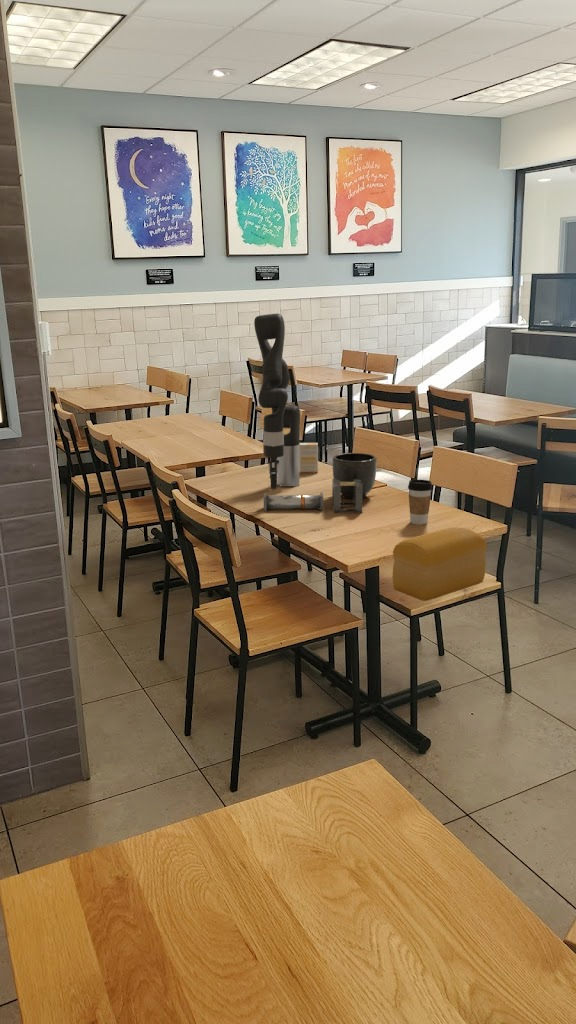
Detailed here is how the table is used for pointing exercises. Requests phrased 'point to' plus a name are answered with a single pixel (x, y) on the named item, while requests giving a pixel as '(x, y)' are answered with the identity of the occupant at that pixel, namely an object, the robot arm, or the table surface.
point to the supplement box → (308, 457)
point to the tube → (293, 501)
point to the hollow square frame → (356, 502)
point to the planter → (355, 471)
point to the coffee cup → (419, 500)
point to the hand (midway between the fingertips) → (273, 486)
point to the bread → (439, 563)
